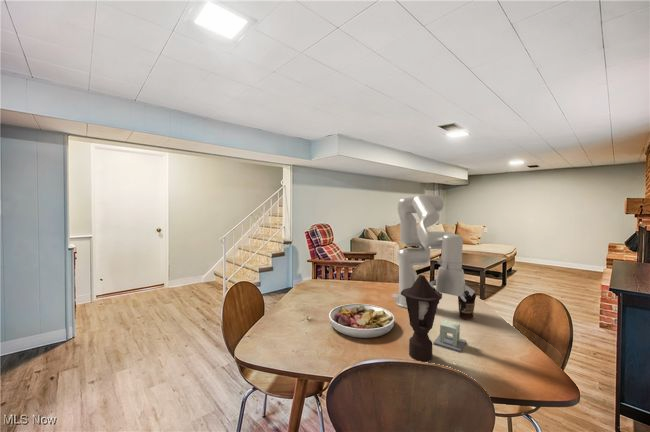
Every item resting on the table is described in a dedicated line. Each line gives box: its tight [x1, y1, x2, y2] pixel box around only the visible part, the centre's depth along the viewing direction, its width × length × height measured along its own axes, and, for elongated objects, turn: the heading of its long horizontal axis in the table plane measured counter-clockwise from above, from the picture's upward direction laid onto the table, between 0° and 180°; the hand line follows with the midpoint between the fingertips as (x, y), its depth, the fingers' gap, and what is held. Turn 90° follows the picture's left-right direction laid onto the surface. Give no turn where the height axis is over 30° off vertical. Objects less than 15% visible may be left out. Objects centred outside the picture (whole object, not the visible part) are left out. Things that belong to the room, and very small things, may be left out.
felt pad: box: [432, 334, 467, 353], centre depth 113 cm, size 10×10×1 cm
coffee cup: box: [457, 290, 477, 321], centre depth 138 cm, size 9×8×13 cm
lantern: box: [401, 274, 443, 363], centre depth 103 cm, size 15×15×30 cm
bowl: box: [328, 303, 395, 339], centre depth 130 cm, size 30×30×8 cm
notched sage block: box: [439, 319, 461, 346], centre depth 113 cm, size 6×6×7 cm
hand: (449, 306), depth 113 cm, fingers open, 9 cm apart
